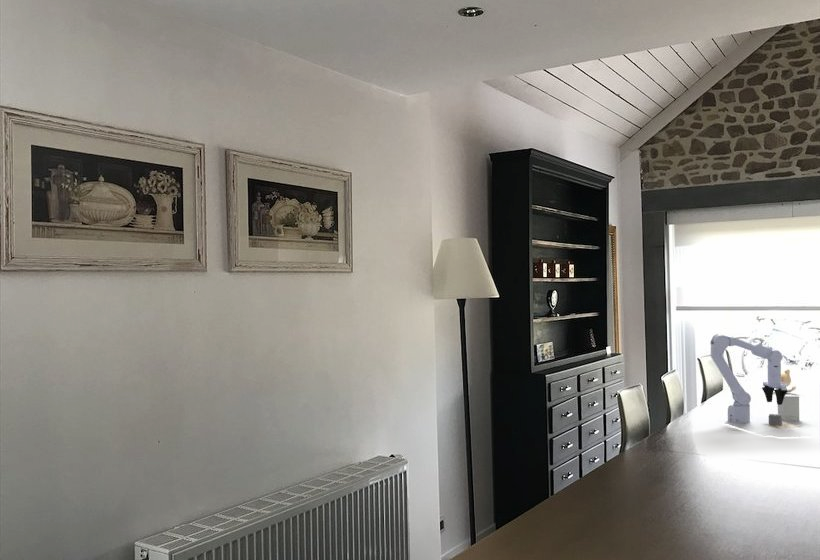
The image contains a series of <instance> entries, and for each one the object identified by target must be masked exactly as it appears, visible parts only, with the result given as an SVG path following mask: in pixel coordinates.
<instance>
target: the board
mask: <svg viewBox="0 0 820 560" xmlns="http://www.w3.org/2000/svg"><path fill="white" fill-rule="evenodd" d="M764 425H765V426H768V427H772V428H776V429H785V428H787V429H788V428H789V429H790V428H802V426H801V425H798V424H797V425H796V424H793V423H790V422H782V425H781V426H774V425H769V423H764Z"/></svg>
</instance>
